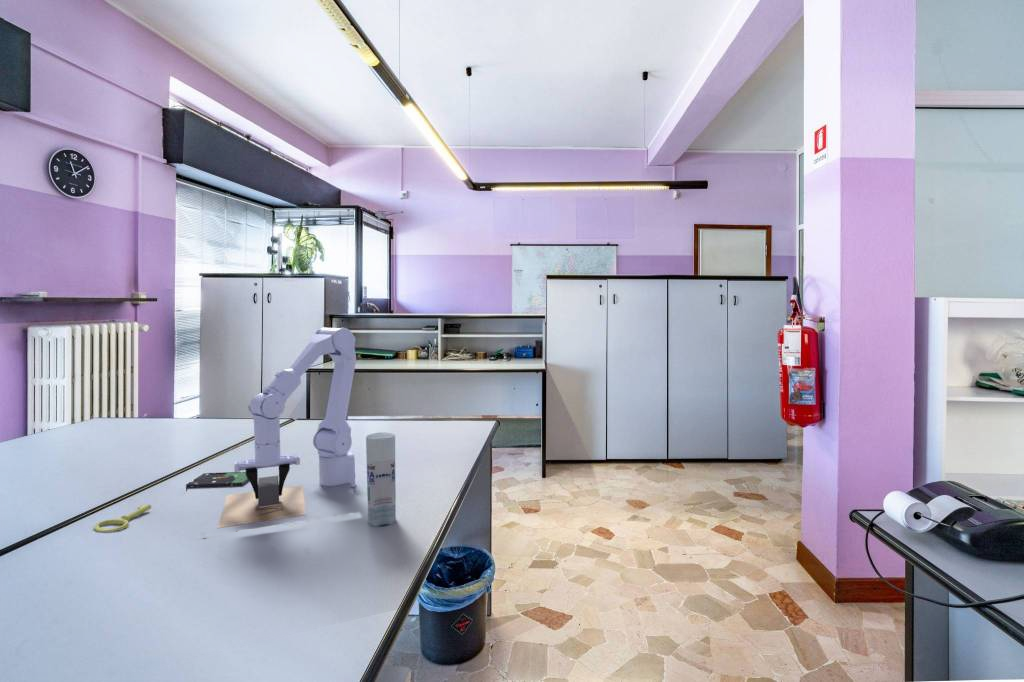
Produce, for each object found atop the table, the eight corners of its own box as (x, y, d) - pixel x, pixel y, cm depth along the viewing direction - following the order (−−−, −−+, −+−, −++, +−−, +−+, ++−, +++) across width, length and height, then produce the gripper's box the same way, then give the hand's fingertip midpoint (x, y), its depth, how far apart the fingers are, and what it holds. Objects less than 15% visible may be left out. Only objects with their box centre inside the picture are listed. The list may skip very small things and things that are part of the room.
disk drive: (185, 495, 137) (244, 491, 139) (185, 484, 137) (243, 481, 139) (203, 482, 147) (257, 479, 149) (203, 472, 147) (257, 470, 149)
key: (153, 511, 125) (152, 503, 125) (121, 533, 113) (121, 524, 113) (121, 513, 124) (120, 504, 124) (86, 535, 112) (85, 526, 112)
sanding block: (278, 494, 132) (278, 475, 131) (279, 505, 124) (278, 484, 124) (259, 497, 130) (258, 477, 129) (258, 508, 122) (258, 487, 122)
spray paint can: (365, 517, 120) (364, 433, 119) (393, 513, 123) (392, 431, 122) (369, 528, 114) (368, 440, 113) (398, 523, 117) (397, 437, 116)
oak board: (302, 489, 139) (302, 485, 139) (306, 519, 119) (306, 514, 119) (227, 499, 132) (226, 495, 132) (217, 533, 112) (217, 527, 112)
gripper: (298, 435, 133) (299, 486, 134) (235, 441, 127) (236, 495, 127) (299, 441, 126) (301, 495, 127) (233, 448, 120) (235, 504, 121)
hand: (268, 496), depth 127 cm, fingers closed on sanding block, 4 cm apart
